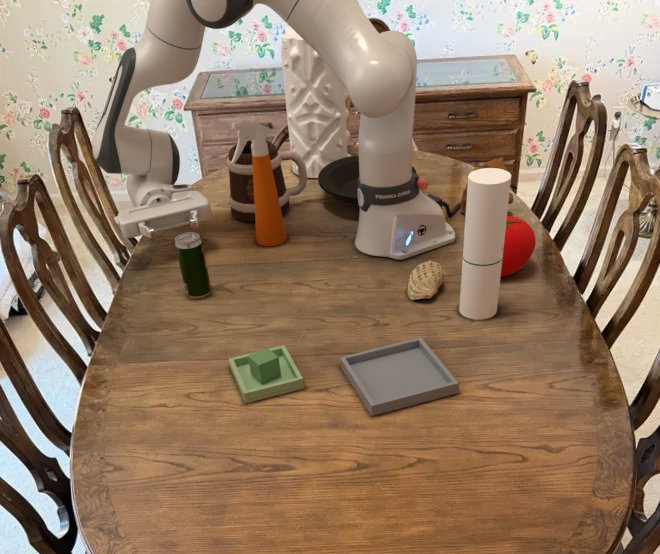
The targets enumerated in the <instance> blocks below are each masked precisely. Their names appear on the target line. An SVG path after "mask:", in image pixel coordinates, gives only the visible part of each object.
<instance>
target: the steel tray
mask: <svg viewBox="0 0 660 554" xmlns="http://www.w3.org/2000/svg"><path fill="white" fill-rule="evenodd" d="M339 364H340V369H341V370H342V373H344V375H345V376H346V378H347V380H348V381H349V383H350V384H351V386H352V387H353V389H354V391H355V392H356V394H357V395H358V397H359V398H360V400H361V402H362V403H363V405H364V406H365V409H367V411H368V413H369V414H370V416H371V417H374V416H378V415H381V414H385V413H389V412H393V411H396V410H400V409H404V408H408V407H411V406H415V405H419V404H422V403H427V402H430V401H431V402H432V401H435V400H437V399H441V398H446V397H449V396H452V395H457V394H459V387H460V385H459V384H460V382H459V381H458V380H457V378H456V377H455V376H454V375H453V374H452V372H450V370H449V369H448V368H447V366H446V365H445V364H444V363H443V362H442V361H441V360H440V358H439V357H438V355H436V353H435V352H434V351H433V350H432V349H431V348H430V346H429V345H428V343H426V341H425V340H424V339H423V338H422V336H419V337H415V338H411V339H408V340H404V341H400V342H396V343H392V344H388V345H383V346H380V347H376V348H372V349H367V350H363V351H359V352H356V353H355V352H354V353H351V354H347V355H343V356H340V357H339Z"/></svg>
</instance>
